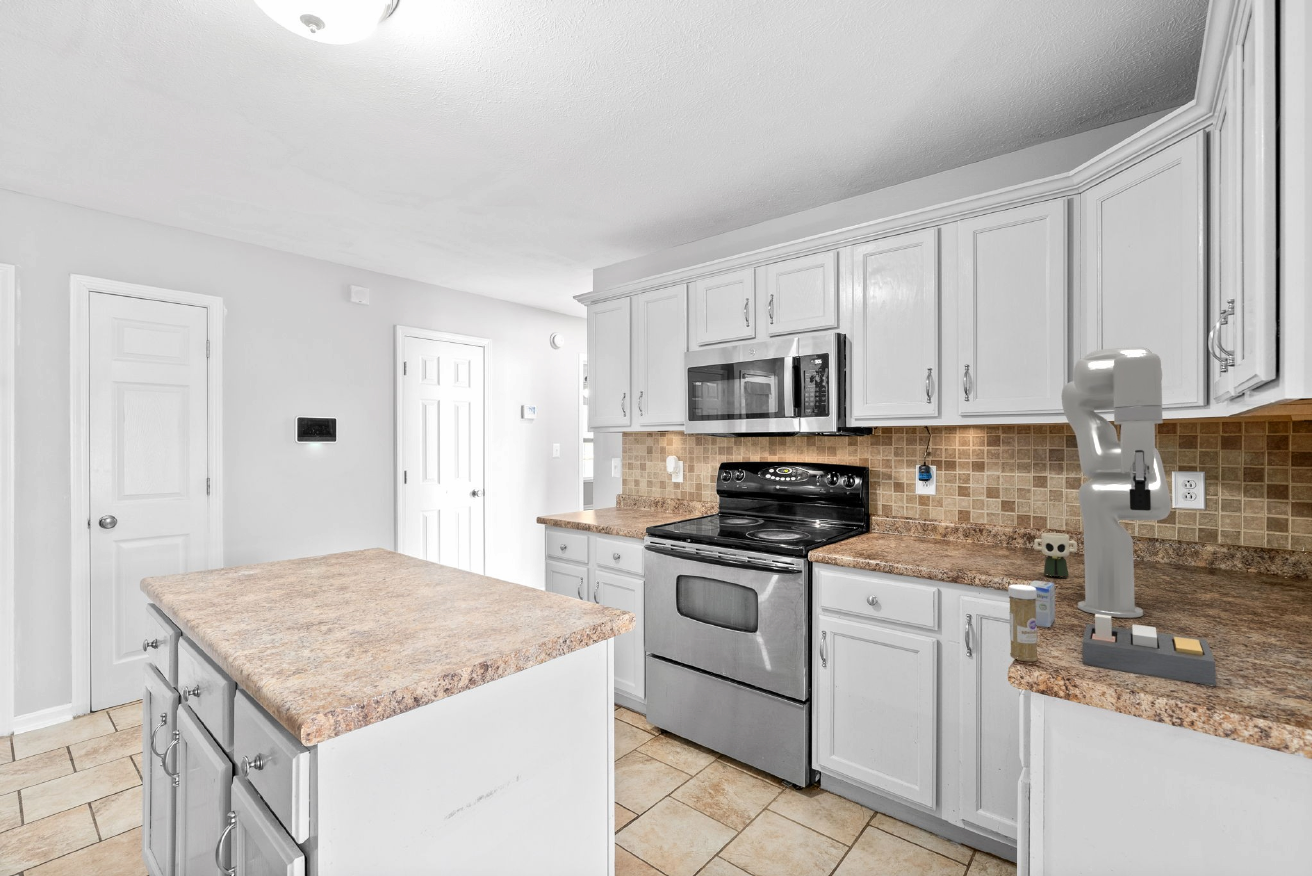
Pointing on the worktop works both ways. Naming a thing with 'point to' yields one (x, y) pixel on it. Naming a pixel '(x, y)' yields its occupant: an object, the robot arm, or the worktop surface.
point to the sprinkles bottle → (1023, 622)
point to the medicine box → (1044, 603)
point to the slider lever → (1103, 628)
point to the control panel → (1149, 657)
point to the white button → (1144, 636)
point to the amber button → (1187, 645)
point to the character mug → (1055, 552)
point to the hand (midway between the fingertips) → (1140, 509)
